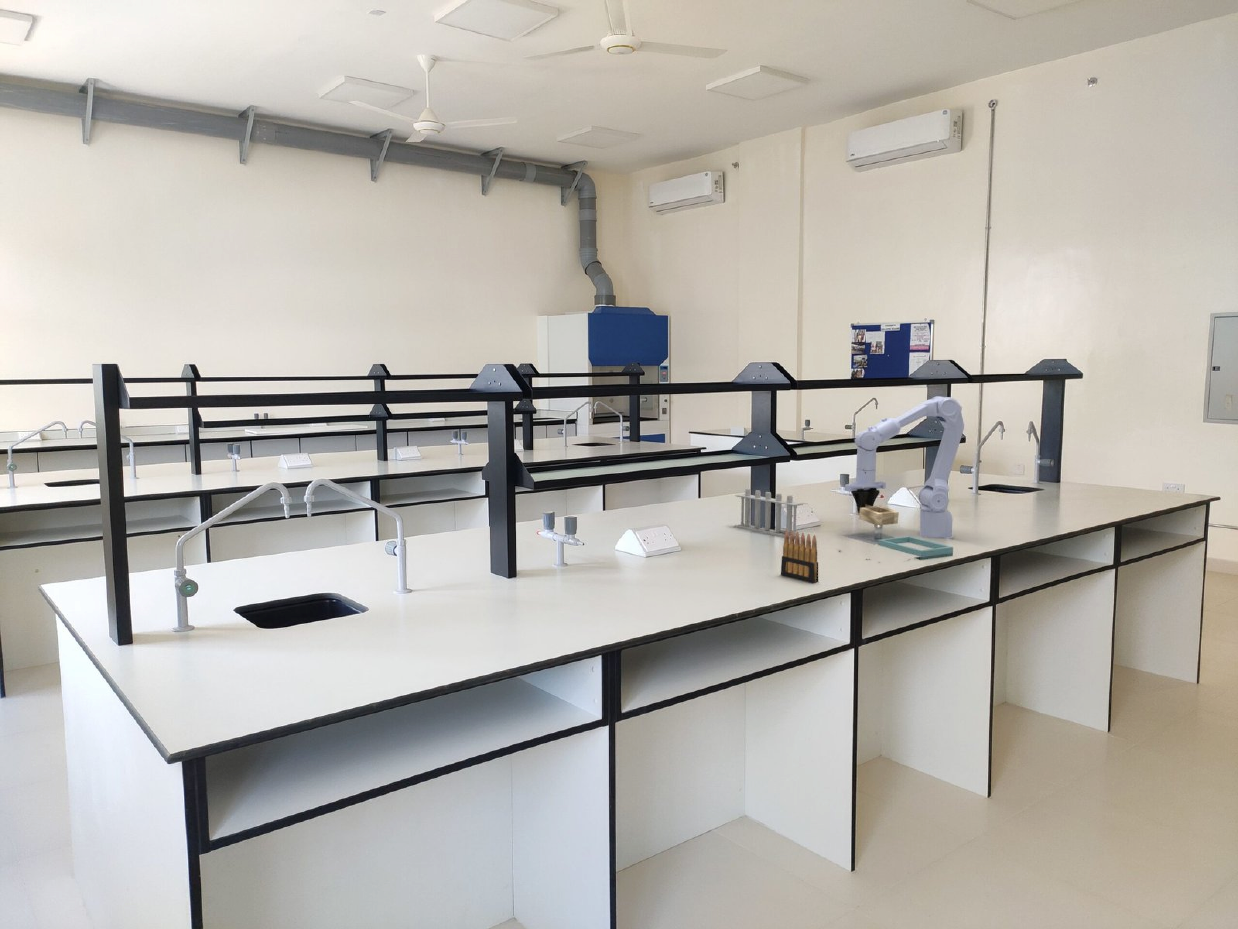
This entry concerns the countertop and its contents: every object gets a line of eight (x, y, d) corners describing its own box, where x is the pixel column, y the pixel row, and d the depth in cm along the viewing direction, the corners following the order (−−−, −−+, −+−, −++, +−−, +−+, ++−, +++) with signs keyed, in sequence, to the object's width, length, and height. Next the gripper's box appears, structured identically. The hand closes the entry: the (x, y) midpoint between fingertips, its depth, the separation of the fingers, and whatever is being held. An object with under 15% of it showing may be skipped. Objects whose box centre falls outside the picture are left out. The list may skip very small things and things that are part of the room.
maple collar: (897, 523, 256) (898, 512, 255) (877, 525, 252) (878, 514, 252) (869, 513, 267) (870, 502, 266) (849, 515, 263) (850, 504, 263)
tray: (908, 544, 255) (908, 536, 254) (952, 555, 240) (953, 547, 239) (877, 548, 250) (878, 539, 249) (921, 560, 234) (921, 551, 234)
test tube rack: (802, 538, 265) (803, 496, 263) (793, 539, 262) (794, 497, 261) (743, 526, 284) (744, 487, 283) (734, 527, 282) (735, 488, 280)
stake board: (907, 543, 256) (907, 526, 255) (874, 547, 250) (874, 529, 250) (874, 535, 268) (875, 518, 268) (842, 538, 263) (843, 521, 262)
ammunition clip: (780, 575, 218) (781, 529, 217) (785, 574, 219) (786, 528, 218) (813, 583, 210) (815, 536, 208) (818, 582, 211) (819, 535, 210)
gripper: (875, 466, 268) (873, 509, 269) (838, 469, 262) (837, 512, 263) (891, 469, 261) (889, 512, 263) (854, 471, 255) (853, 516, 257)
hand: (864, 512), depth 263 cm, fingers closed on maple collar, 2 cm apart
